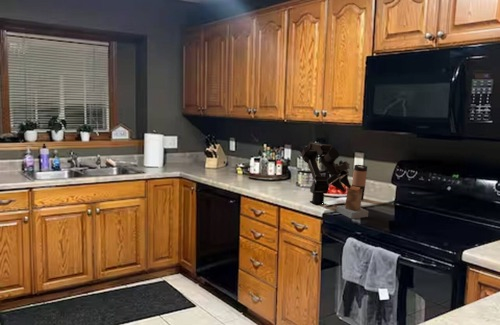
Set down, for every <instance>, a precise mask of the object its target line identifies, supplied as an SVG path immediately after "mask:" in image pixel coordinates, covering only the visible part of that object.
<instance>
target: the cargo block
mask: <svg viewBox="0 0 500 325" xmlns="http://www.w3.org/2000/svg"><path fill="white" fill-rule="evenodd" d="M350 190H355V191H359V190H360V187H355V186H352V185H351V187H350Z"/></svg>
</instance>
